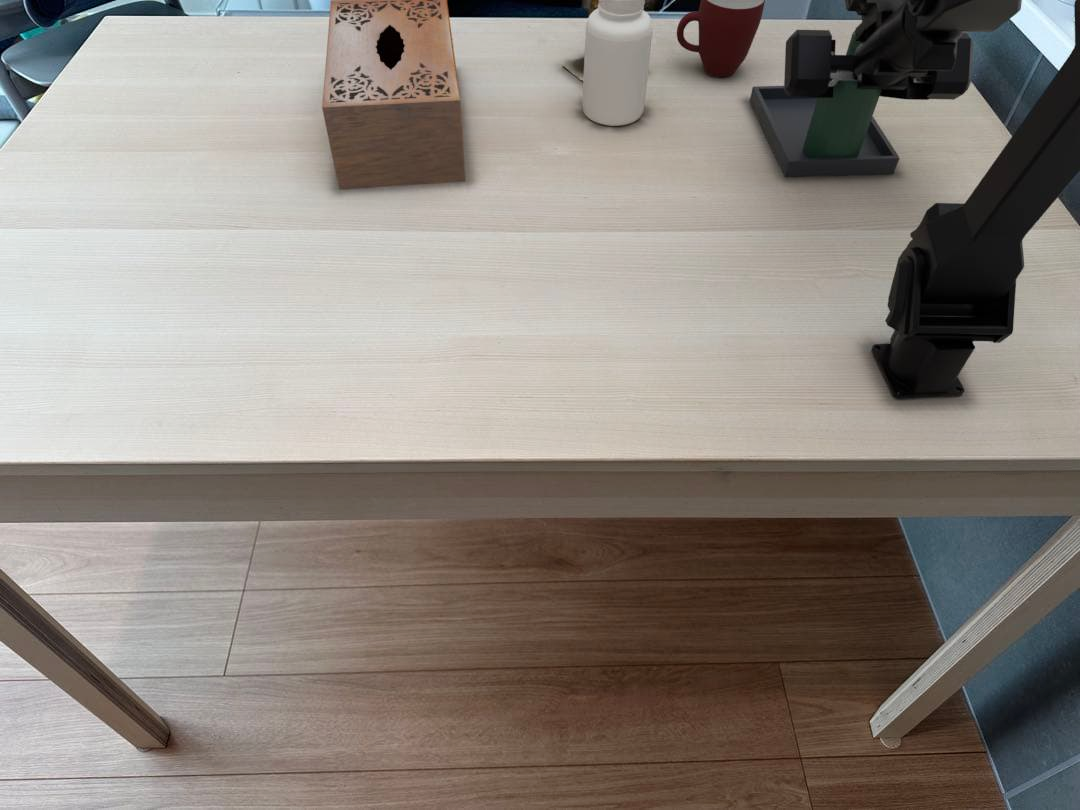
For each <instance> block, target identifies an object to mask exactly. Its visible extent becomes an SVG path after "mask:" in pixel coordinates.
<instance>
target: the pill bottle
mask: <svg viewBox="0 0 1080 810" xmlns="http://www.w3.org/2000/svg"><path fill="white" fill-rule="evenodd" d="M645 3H646V0H599V4H598V8H597V9H596V10H594V11H593V12H592V13H591V14H590V16H589V15H588V18H587V20H586V24H585V38H584V79H583V81H582V82H583V83H582V84H583V85H582V99H581V100H582V101H581V103H582V111H583V114H584V115H585V117H586V118H587V119H589V120H591V121H592V122H594V123H597V124H600V125H603V126H611V127H613V126H615V127H616V126H625V125H630V124H633V123H634V122H636V121H637V120H639V119H640V118H641V117H642V115H643V113H644V109H645V102H646V94H647V87H648V77H649V67H650V57H651V49H652V48H651V47H652V40H653V33H654V32H653V31H654V25H653V21H652V18H651V16H650V15H649V14H648V13H647V11H645V10H644V9H645Z"/></svg>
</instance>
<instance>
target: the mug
mask: <svg viewBox="0 0 1080 810" xmlns="http://www.w3.org/2000/svg"><path fill="white" fill-rule="evenodd" d="M765 3H766V0H700V4H699V7H698V11H689V12H687V13H686V14H684V15H683V17H682V18H681V19H680V20H679V22H678V24H677V27H676V39H677V42H678V44H679V45H680V46H681V47H682V48H683V49H685V50H686V51H689V52H694V53H698V55H699V57H700V60H701V63H702V66H703V68H704V71H705V73H707V75H710V76H712V77H714V78H728V77H731V76H732V75H734V73H736V71H737V70H738V69H739V67H740V66H741V65H742V64H743V62H744V61H745V60H746V58H747V56H748V54H749V51H750V49H751V47H752V44H753V42H754V39H755V36H756V35H757V31H758V29H759V27H760V24H761V21H762V17H763V12H764V9H765ZM691 22H698V23H697V24H698V44H693V43H690V42H688V41H687V39H686V38H685V35H684V34H685V33H684V32H685V29H686V27H687V25H688V24H689V23H691Z"/></svg>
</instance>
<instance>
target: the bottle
mask: <svg viewBox="0 0 1080 810" xmlns="http://www.w3.org/2000/svg"><path fill="white" fill-rule="evenodd" d="M858 46H859V41H855V30H854V31H853V32H852V34H851V36H850V40H849V44H848V47H847V50H846V53H845V55H854V54H855V51H856V49H857V47H858ZM840 71H841V70H839V73H840ZM844 71H845V70H843V72H844ZM846 71H847V72H848V70H846ZM850 72H851V71H850ZM854 73H855V72H854ZM857 84H858V81H838V82H837V83H836V85H834V89H833V98H818V99H817V102H816V105H815V109H814V112H813V116H812V119H811V122H810V126H809V129H808V132H807V136H806V139H805V143H804V152H805V154H806V155H807V156H808V157H809V158H833V157H858V155H859V152H860V149H861V147H862V144H863V141H864V138H865V135H866V133H867V130H868V127H869V124H870V121H871V119H872V116H873V117H874V113H875V110H876V108H877V105H878V101H879V99H880V97H881V96H880V94H881V91H882V89H857Z"/></svg>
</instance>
